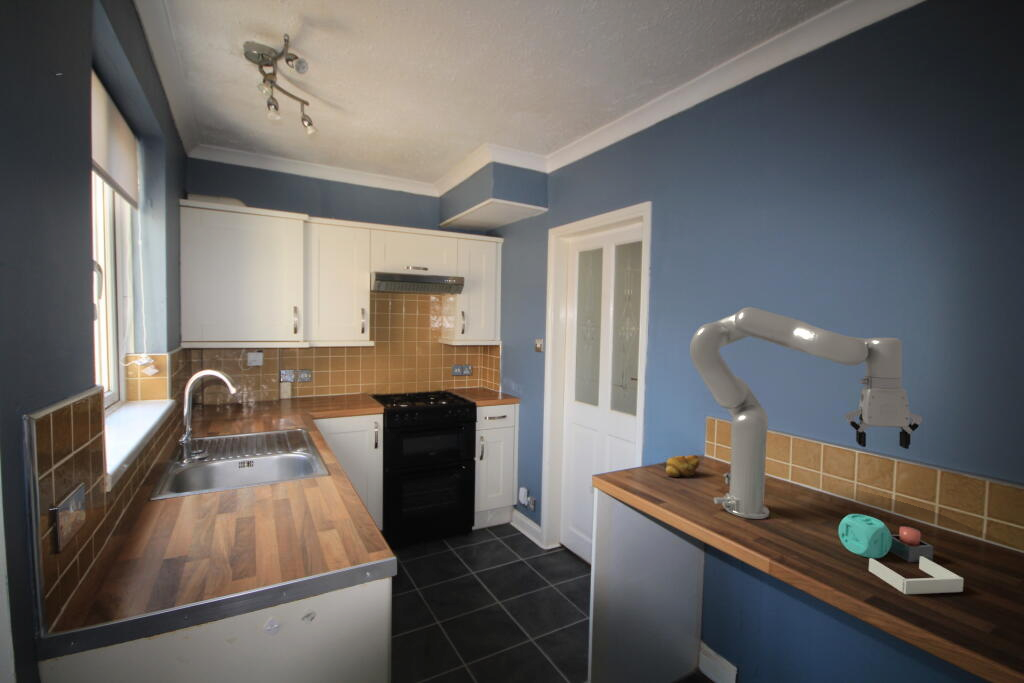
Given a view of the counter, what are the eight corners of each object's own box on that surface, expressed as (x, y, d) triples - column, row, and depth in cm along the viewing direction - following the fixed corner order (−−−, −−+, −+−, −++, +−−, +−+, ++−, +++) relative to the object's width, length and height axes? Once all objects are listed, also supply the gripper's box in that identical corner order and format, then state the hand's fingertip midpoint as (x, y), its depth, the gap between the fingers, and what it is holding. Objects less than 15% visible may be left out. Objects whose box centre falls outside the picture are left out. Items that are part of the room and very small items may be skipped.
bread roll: (673, 480, 168) (674, 459, 168) (656, 472, 178) (657, 451, 177) (702, 477, 173) (702, 455, 172) (684, 468, 182) (685, 448, 181)
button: (909, 547, 115) (910, 534, 115) (894, 539, 119) (895, 526, 119) (924, 547, 115) (925, 533, 115) (909, 539, 119) (909, 526, 119)
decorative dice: (867, 560, 115) (869, 529, 114) (836, 544, 122) (838, 515, 122) (891, 556, 117) (893, 525, 116) (860, 541, 125) (861, 512, 124)
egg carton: (736, 489, 161) (736, 478, 161) (721, 482, 168) (721, 470, 168) (761, 486, 164) (761, 475, 164) (745, 479, 171) (745, 468, 171)
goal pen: (905, 594, 101) (906, 580, 101) (868, 570, 110) (869, 558, 110) (962, 591, 102) (963, 578, 102) (921, 568, 111) (922, 556, 111)
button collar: (908, 562, 114) (909, 547, 114) (885, 549, 120) (886, 534, 120) (932, 561, 115) (933, 546, 114) (908, 548, 121) (909, 534, 121)
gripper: (851, 384, 123) (851, 448, 124) (930, 385, 118) (929, 452, 119) (840, 381, 130) (839, 441, 131) (914, 382, 126) (913, 444, 126)
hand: (882, 446), depth 125 cm, fingers open, 9 cm apart
